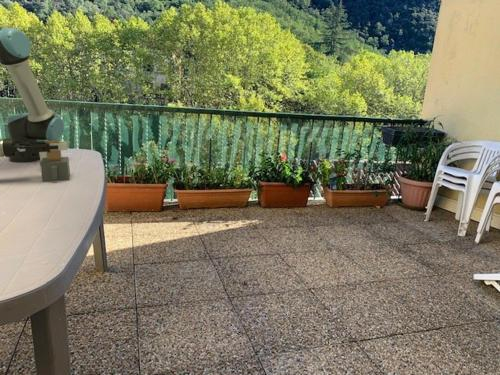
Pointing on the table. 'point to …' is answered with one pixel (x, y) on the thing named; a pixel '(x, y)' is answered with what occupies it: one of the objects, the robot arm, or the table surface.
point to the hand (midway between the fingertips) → (67, 145)
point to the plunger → (54, 152)
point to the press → (55, 170)
